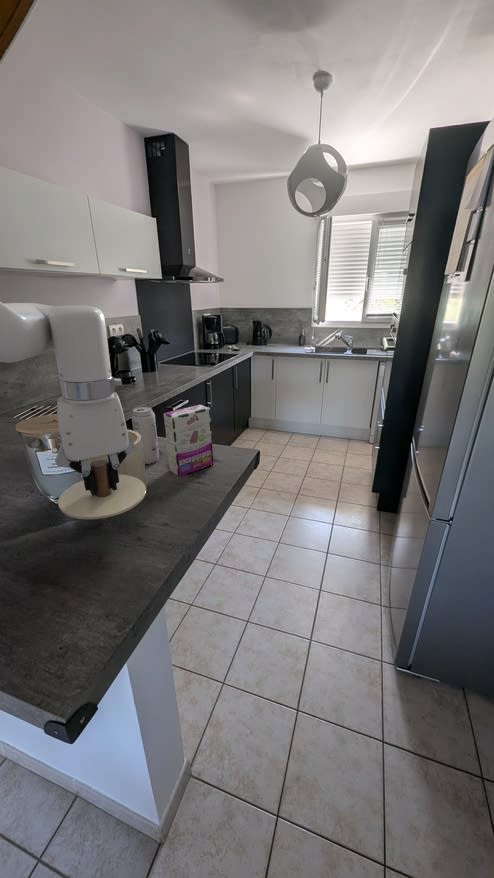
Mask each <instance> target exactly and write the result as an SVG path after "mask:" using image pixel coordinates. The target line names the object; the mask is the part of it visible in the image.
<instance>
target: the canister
mask: <svg viewBox="0 0 494 878" xmlns="http://www.w3.org/2000/svg"><path fill="white" fill-rule="evenodd" d="M127 433H128V436H129V438H130V439H131V440H132V442H133V443H134V444H135V446H136V450H134V451H133V452H132V453H130V454H129V455H127V456H126V458H125V459H124V460H123V461H122V463H121V464H120V467H119V468H118V474H120V475H128V476H132V477H135V478H137V479H139V480H141V481H142V482H143V483H144V485H145V487H146V492H147V491H148V480H147V471H146V465H145V462H144V454H143V446H142V437H141V435H140V434H139V433H138V432H135V431H133V429H127ZM97 460H106V461H107V462H109V461H108V457H107V455H104V456H99V457H94V458H89V466H90V464H91V463H92V462H94V461H97ZM90 470H91V466H90ZM81 479H82V481H83V475H82V474H81V476H80V480H81Z"/></svg>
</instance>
